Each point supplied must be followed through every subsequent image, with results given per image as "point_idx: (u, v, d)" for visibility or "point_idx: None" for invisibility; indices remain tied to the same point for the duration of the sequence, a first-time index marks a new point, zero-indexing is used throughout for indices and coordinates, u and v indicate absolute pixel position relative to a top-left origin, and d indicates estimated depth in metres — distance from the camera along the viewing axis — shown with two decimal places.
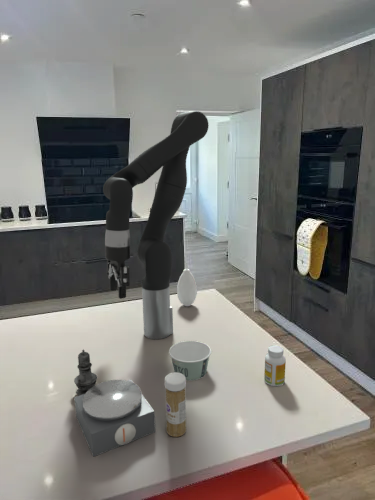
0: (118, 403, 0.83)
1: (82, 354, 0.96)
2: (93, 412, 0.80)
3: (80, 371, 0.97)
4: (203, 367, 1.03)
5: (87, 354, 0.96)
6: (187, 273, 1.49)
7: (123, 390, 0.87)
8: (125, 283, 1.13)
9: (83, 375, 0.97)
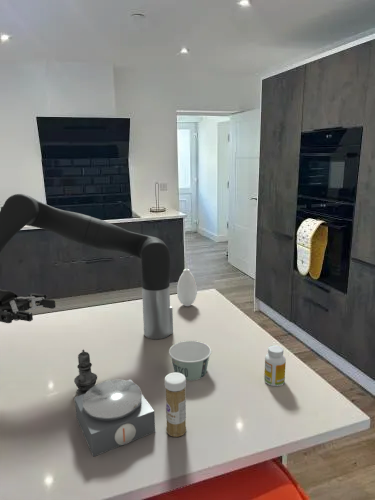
0: (118, 403, 0.83)
1: (82, 354, 0.96)
2: (93, 412, 0.80)
3: (80, 371, 0.97)
4: (203, 367, 1.03)
5: (87, 354, 0.96)
6: (187, 273, 1.49)
7: (123, 390, 0.87)
8: (6, 318, 0.93)
9: (83, 375, 0.97)
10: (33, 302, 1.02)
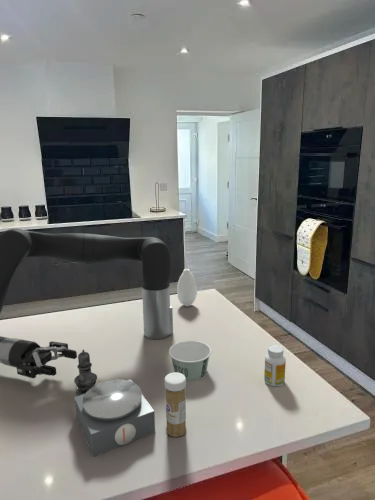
0: (118, 403, 0.83)
1: (82, 354, 0.96)
2: (93, 412, 0.80)
3: (80, 371, 0.97)
4: (203, 367, 1.03)
5: (87, 354, 0.96)
6: (187, 273, 1.49)
7: (123, 390, 0.87)
8: (30, 373, 0.95)
9: (83, 375, 0.97)
10: (55, 352, 1.04)
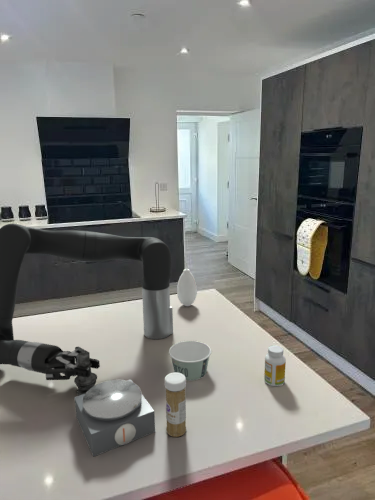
0: (118, 403, 0.83)
1: (82, 354, 0.96)
2: (93, 412, 0.80)
3: None
4: (203, 367, 1.03)
5: (87, 354, 0.96)
6: (187, 273, 1.49)
7: (123, 390, 0.87)
8: (65, 374, 0.94)
9: None
10: (76, 360, 1.00)
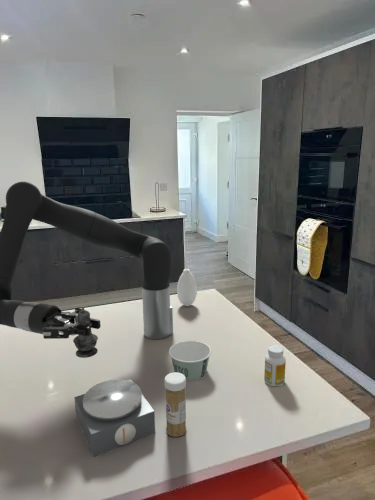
0: (118, 403, 0.83)
1: (82, 312, 0.90)
2: (93, 412, 0.80)
3: None
4: (203, 367, 1.03)
5: (87, 312, 0.91)
6: (187, 273, 1.49)
7: (123, 390, 0.87)
8: None
9: None
10: (76, 320, 0.94)
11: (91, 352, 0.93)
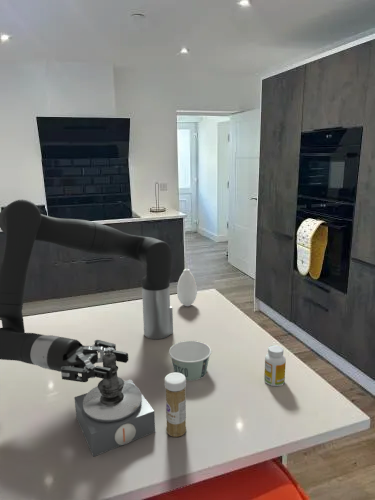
0: (118, 405, 0.83)
1: (107, 355, 0.82)
2: (93, 414, 0.80)
3: None
4: (203, 367, 1.03)
5: (113, 355, 0.82)
6: (187, 273, 1.49)
7: (123, 392, 0.87)
8: (82, 376, 0.78)
9: (109, 380, 0.82)
10: (101, 354, 0.86)
11: (117, 398, 0.84)
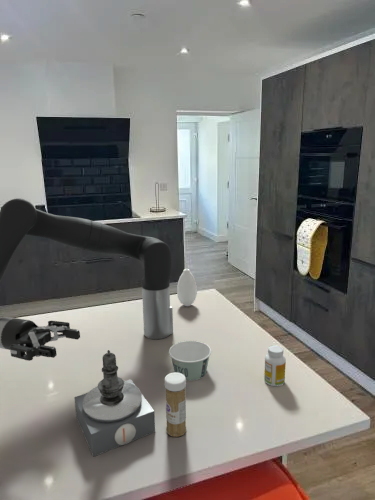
0: (118, 405, 0.83)
1: (107, 355, 0.82)
2: (93, 414, 0.80)
3: (105, 375, 0.82)
4: (203, 367, 1.03)
5: (113, 355, 0.82)
6: (187, 273, 1.49)
7: (123, 392, 0.87)
8: (26, 354, 0.82)
9: (109, 380, 0.82)
10: (55, 332, 0.91)
11: (117, 398, 0.84)
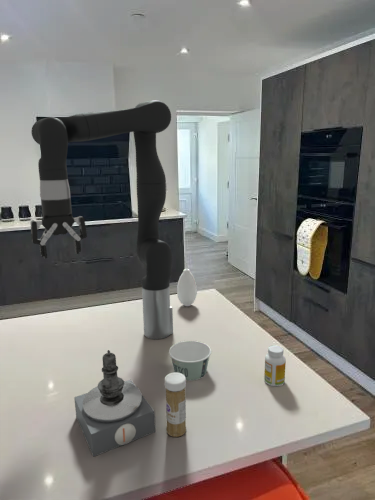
0: (118, 405, 0.83)
1: (107, 355, 0.82)
2: (93, 414, 0.80)
3: (105, 375, 0.82)
4: (203, 367, 1.03)
5: (113, 355, 0.82)
6: (187, 273, 1.49)
7: (123, 392, 0.87)
8: None
9: (109, 380, 0.82)
10: None
11: (117, 398, 0.84)
